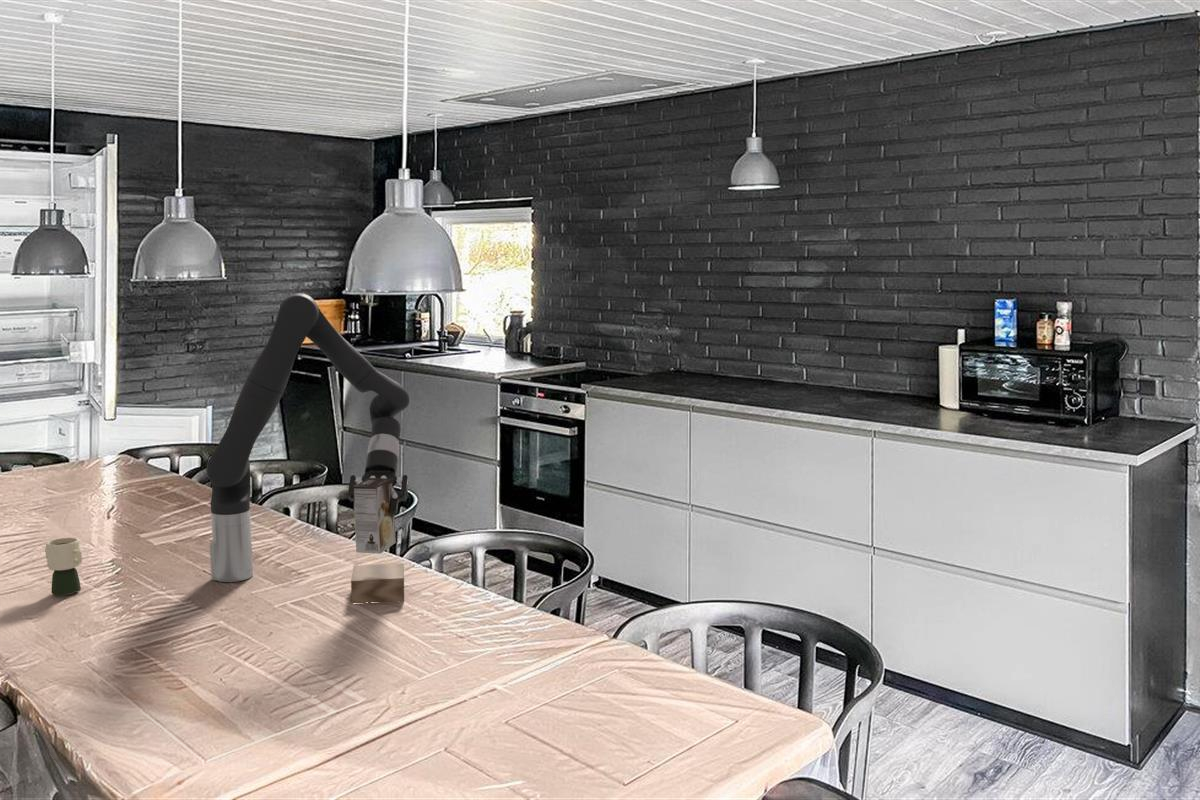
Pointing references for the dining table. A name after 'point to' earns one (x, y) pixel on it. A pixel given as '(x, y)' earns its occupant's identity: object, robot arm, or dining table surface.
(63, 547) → the character mug
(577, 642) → the dining table surface
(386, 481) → the coffee box
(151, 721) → the dining table surface
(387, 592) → the walnut block
